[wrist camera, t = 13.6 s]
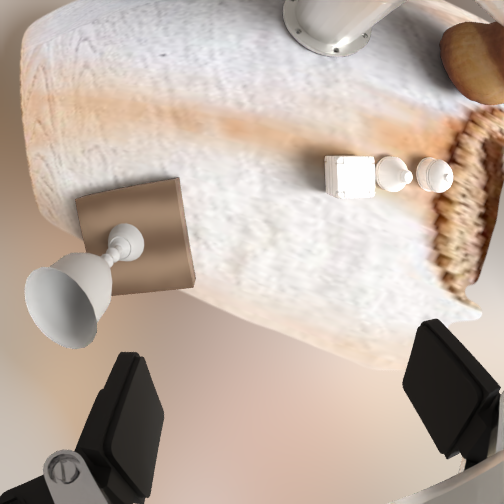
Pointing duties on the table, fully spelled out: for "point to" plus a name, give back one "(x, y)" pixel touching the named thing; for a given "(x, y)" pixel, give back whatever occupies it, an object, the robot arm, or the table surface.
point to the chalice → (78, 289)
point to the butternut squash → (475, 60)
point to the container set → (381, 175)
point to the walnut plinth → (153, 232)
